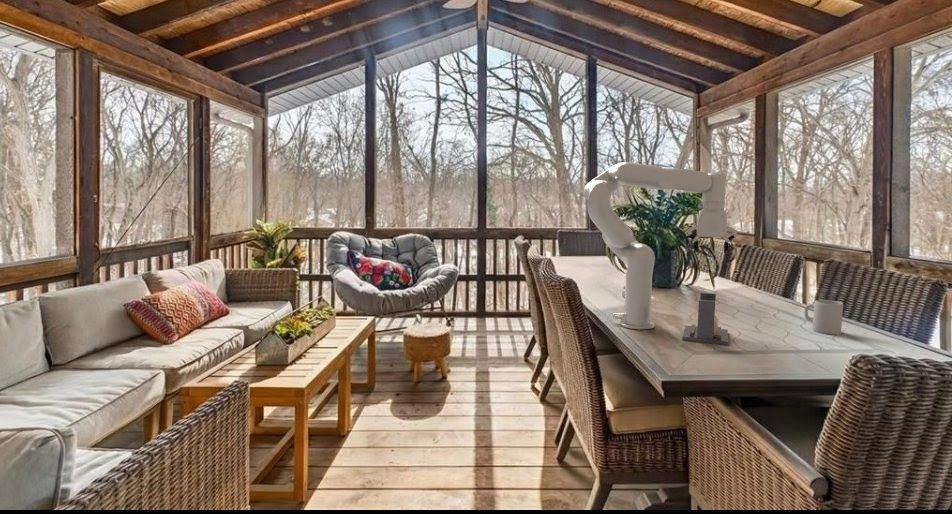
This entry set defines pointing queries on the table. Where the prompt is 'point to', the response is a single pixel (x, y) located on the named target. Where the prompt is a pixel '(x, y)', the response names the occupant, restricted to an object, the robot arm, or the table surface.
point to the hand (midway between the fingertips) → (710, 252)
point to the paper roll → (715, 325)
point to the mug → (826, 316)
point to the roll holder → (706, 323)
